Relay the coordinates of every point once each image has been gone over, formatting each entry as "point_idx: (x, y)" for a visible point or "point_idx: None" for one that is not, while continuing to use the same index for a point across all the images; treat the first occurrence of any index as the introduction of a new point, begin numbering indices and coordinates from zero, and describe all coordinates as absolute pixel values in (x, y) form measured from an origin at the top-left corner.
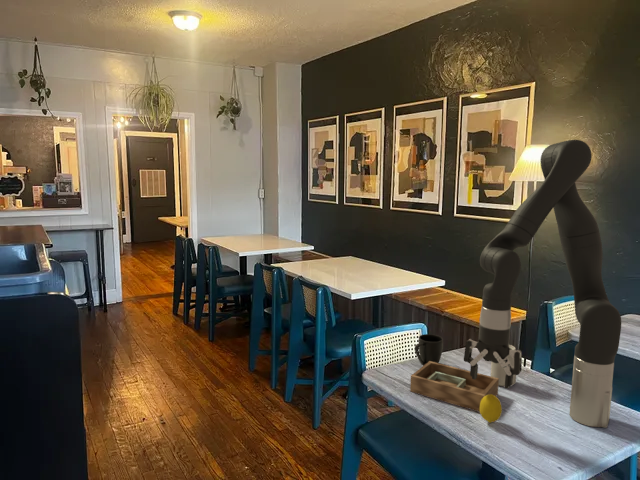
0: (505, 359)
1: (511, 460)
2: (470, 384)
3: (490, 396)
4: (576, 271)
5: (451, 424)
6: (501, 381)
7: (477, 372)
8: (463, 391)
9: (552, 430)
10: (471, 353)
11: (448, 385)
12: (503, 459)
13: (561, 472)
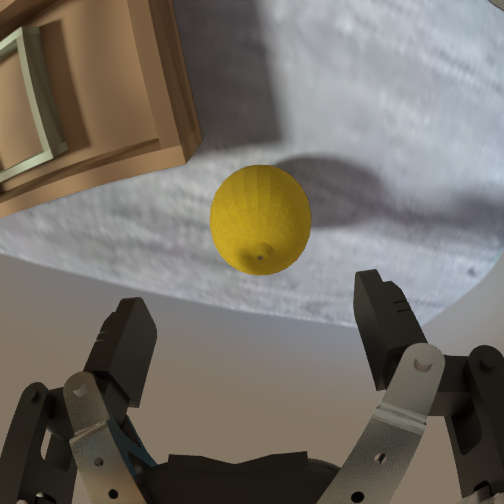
0: (381, 468)
1: None
2: (47, 5)
3: (262, 265)
4: None
5: (178, 283)
6: None
7: (128, 317)
8: (92, 186)
9: (451, 93)
10: (37, 436)
11: (32, 199)
12: None
13: (472, 283)
